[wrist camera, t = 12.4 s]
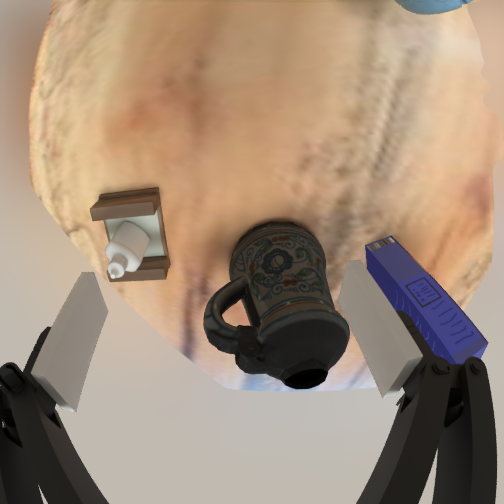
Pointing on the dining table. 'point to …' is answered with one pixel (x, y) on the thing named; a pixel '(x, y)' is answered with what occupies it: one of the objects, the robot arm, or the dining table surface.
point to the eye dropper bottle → (126, 249)
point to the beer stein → (279, 308)
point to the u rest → (146, 217)
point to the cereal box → (423, 302)
